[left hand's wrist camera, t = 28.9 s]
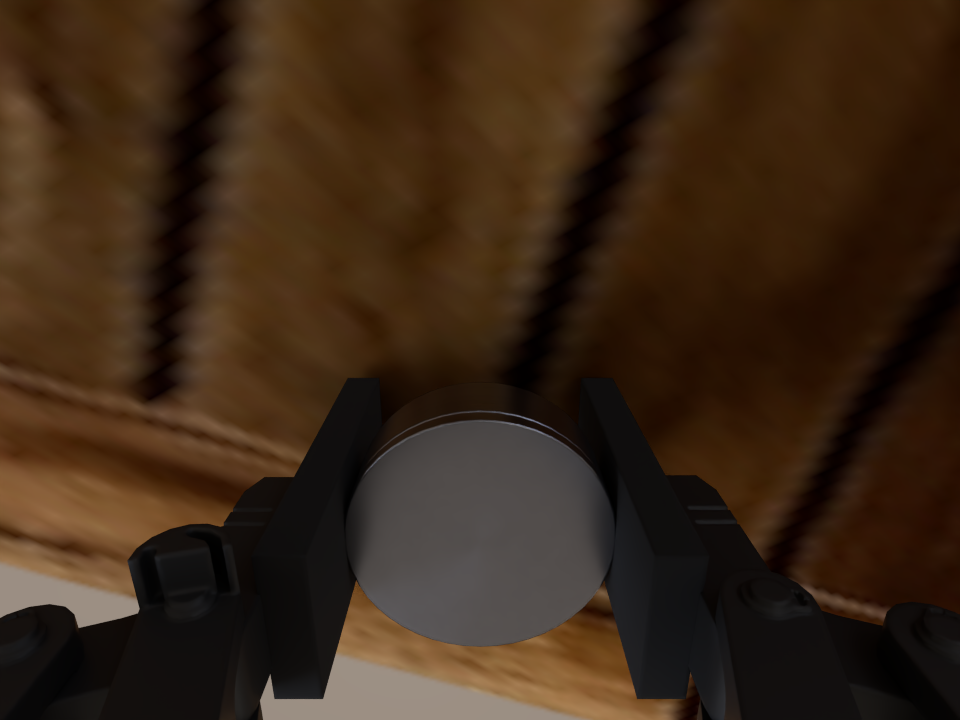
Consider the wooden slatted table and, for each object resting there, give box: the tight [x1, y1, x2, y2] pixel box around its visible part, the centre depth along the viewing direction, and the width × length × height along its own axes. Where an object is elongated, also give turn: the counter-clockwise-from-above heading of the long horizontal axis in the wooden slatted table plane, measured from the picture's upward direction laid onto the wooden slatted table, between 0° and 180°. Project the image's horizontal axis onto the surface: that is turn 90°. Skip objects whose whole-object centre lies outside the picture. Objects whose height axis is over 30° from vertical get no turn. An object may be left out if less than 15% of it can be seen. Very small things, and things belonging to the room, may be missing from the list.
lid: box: [344, 382, 616, 647], centre depth 12 cm, size 5×5×2 cm
